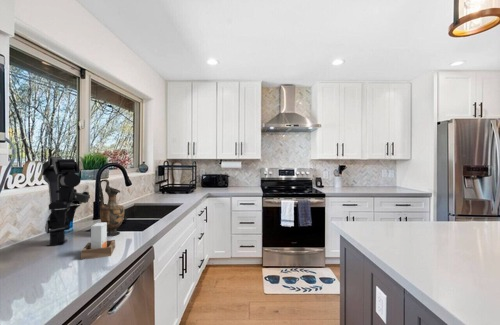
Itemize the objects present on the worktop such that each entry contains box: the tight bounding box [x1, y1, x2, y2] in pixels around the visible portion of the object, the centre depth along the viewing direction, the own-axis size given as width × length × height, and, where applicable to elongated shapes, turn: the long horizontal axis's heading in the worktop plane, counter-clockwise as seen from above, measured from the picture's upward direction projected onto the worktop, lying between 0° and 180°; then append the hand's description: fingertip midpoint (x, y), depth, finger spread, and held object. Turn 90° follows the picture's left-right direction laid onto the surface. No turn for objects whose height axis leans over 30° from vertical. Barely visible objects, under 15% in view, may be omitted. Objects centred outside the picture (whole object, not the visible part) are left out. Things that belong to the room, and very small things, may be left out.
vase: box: [97, 179, 125, 237], centre depth 131 cm, size 12×12×30 cm
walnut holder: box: [80, 239, 116, 261], centre depth 104 cm, size 11×11×4 cm
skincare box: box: [90, 222, 108, 249], centre depth 104 cm, size 6×4×12 cm
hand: (67, 223), depth 105 cm, fingers open, 9 cm apart
